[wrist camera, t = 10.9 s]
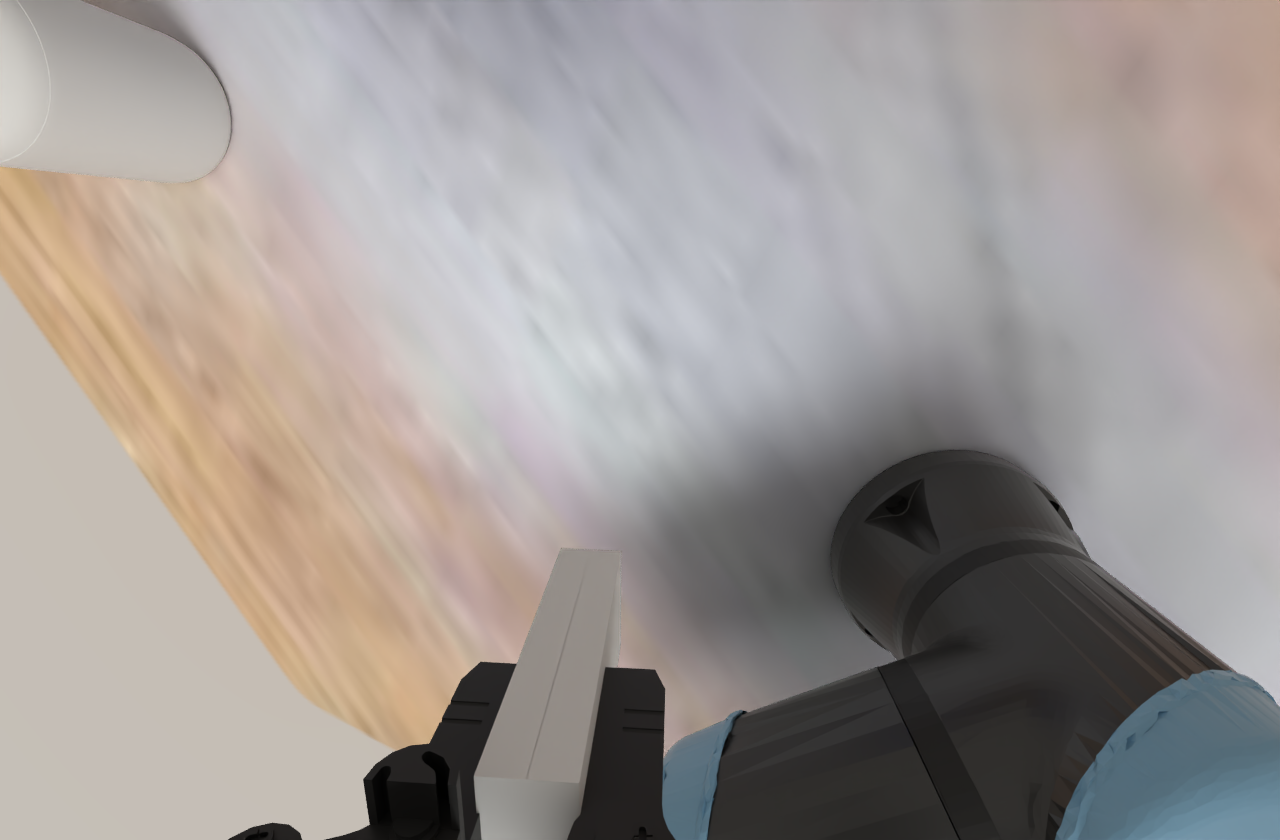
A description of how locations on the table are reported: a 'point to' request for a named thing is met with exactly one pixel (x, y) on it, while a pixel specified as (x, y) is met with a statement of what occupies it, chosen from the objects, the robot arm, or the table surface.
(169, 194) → the table surface
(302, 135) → the table surface
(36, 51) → the pill bottle
